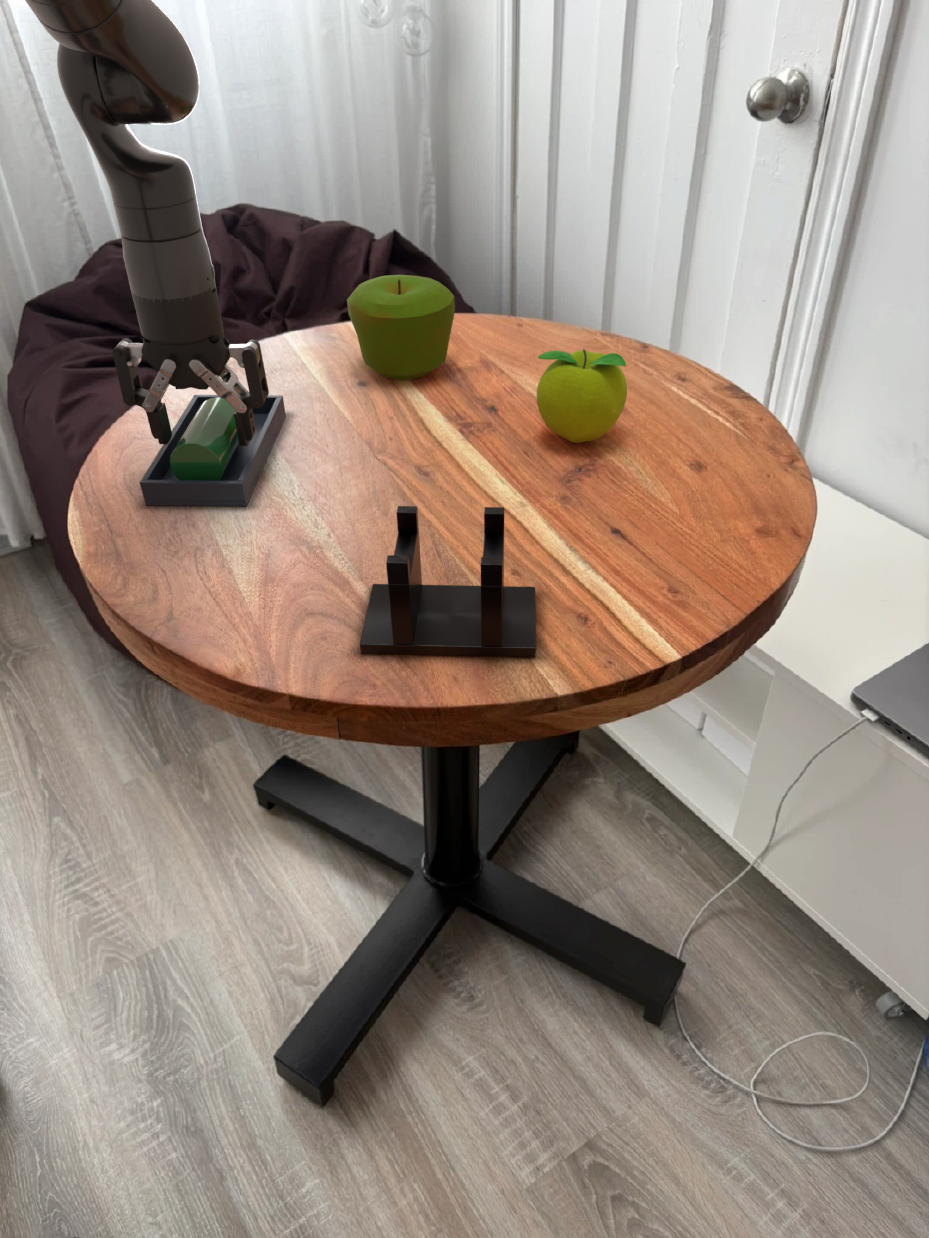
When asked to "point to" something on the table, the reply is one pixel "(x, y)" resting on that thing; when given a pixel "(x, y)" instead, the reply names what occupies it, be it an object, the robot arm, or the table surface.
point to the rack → (449, 603)
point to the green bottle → (206, 443)
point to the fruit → (581, 393)
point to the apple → (402, 324)
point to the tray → (238, 474)
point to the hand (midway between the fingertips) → (206, 441)
